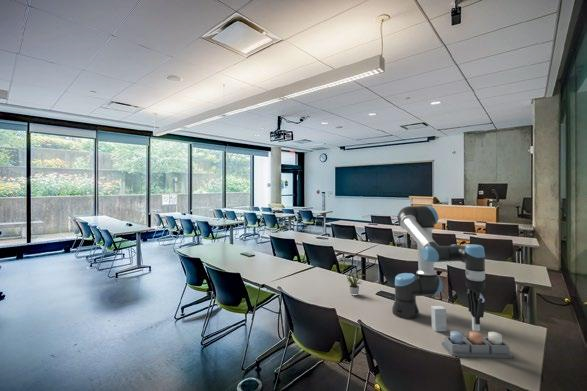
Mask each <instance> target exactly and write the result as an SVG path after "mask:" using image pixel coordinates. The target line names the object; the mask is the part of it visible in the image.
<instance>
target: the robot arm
mask: <svg viewBox="0 0 587 391" xmlns="http://www.w3.org/2000/svg"><path fill="white" fill-rule="evenodd" d="M438 222H439V215H438V212H437V210H436V209H435V208H434V207H433V206H431V205H428V206H427V205H421V206H419V205H416V206H415V205H413V206H411V205H410V206H405V207H403V208H402V209H400V211H398V214H397V223H398V224H399V226H400V227H401V228H402V229H403V230H405V231H406V232H407V233H408V235H410V237H411V238H412V239H413V240H414V242H416V245H417V246H416V248H417V263H418V264H417V265H418V267H417V268H418V270H416V274H414V273H411V272H409V273H408V272H403V273H398V274H397V275H396V276H394V303H393V305H392V307H391V309H392V310H391V311H392V312H391V313H392V314H393V315H395V316H396V317H399V318H402V319H409V320H410V319H412V320H413V319H417V318H419V316H420V310H419V307H418V304H417V301H416V300H417V297H427V296H429V297H432V296H438V295H439V294H440V293H441V292H442V289H443V282H442V279H441V277H440V276H439V275H438V273H437V272H436V271H435V264H434V263H443V262H444V263H445V262H460V263H461V262H462V263H464V264H465V272H464V273H465V277H466V278H465V286H466V288H467V289H465V295H466V299H467V301H466V302H467V307H468V312H470V315H471V330H472V331H474V332H480V331H481V320H480V319H481V318H484V314H485V309H486V308H485V307H486V303H487V302H488V301H487V298H486V297H485V298H484V294H483V290H485V289H486V281H485V280H486V270H485V269H486V261H485V260H486V253H485V247H484V246H483V245H481V244H475V243H474V244H473V243H472V244H471V243H469V244H466V245H465V246H463V245H461V244H455V243H454V244H450V245H439V244H438V243H437V242H436V241H435V240H434V239H433V230H434V229H435V226H436V225H437V224H438Z"/></svg>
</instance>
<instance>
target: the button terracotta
mask: <svg viewBox="0 0 587 391" xmlns="http://www.w3.org/2000/svg"><path fill="white" fill-rule="evenodd" d="M468 337H469V341H470V342H471V343H473V344H477V345H481V344H483V334H482V333H481V332H479V331H473V330H472V331H471V330H470V331H468Z"/></svg>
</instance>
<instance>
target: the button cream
mask: <svg viewBox="0 0 587 391" xmlns="http://www.w3.org/2000/svg"><path fill="white" fill-rule="evenodd" d="M487 337H488V341H489V342H490V343H492V344H495V345H502V341H503V335H502V334H501V333H499V332H496V331H488V333H487Z"/></svg>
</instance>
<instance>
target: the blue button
mask: <svg viewBox="0 0 587 391" xmlns="http://www.w3.org/2000/svg"><path fill="white" fill-rule="evenodd" d="M449 335H450V336H449V337H450V341H451V342H453V343H455V344H463V337H464V334H463V333H462V332H460V331H457V330H456V331H455V330H452V331H449Z"/></svg>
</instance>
